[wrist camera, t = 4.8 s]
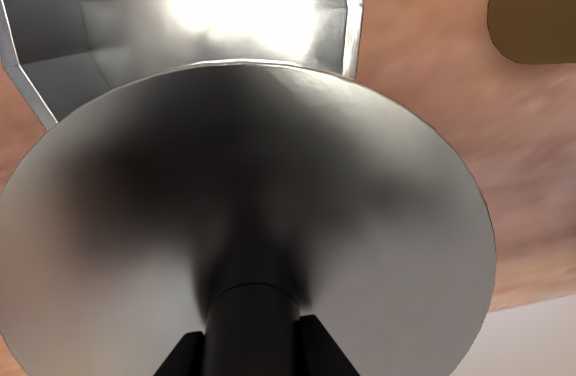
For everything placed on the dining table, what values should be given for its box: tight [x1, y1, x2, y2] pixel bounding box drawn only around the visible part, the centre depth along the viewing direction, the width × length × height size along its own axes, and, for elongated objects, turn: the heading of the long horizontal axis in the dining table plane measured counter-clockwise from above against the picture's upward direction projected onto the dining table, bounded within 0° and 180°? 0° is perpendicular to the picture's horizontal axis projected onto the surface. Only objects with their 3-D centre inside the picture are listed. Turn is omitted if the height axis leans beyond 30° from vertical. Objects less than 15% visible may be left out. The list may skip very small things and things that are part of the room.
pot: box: [0, 0, 364, 131], centre depth 15 cm, size 12×12×6 cm
